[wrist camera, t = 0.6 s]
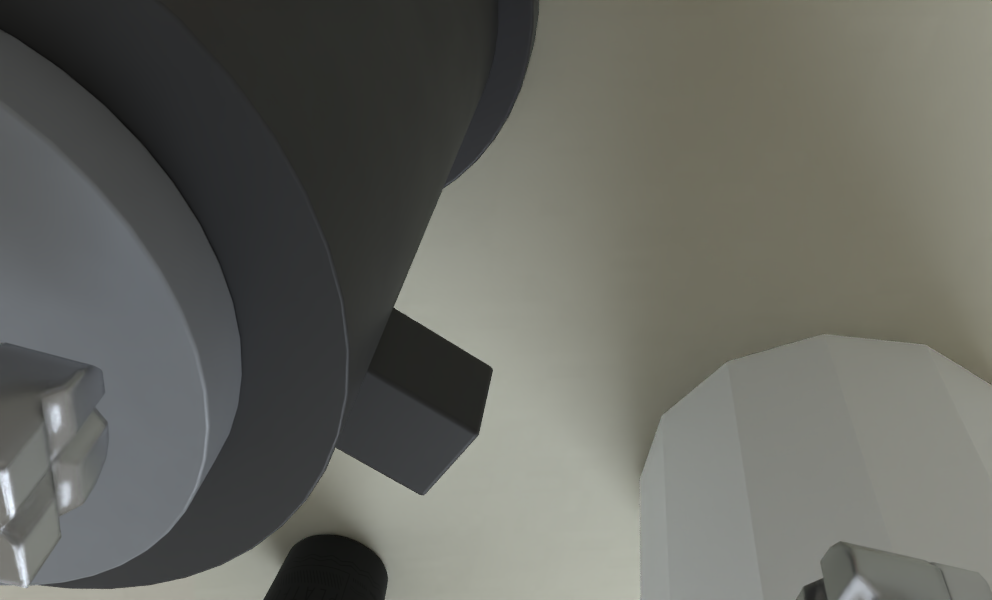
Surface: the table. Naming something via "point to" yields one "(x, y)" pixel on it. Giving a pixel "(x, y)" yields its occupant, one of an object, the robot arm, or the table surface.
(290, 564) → the drinking cup
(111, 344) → the kettle
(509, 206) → the table surface
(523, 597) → the table surface
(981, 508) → the container
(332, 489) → the table surface
